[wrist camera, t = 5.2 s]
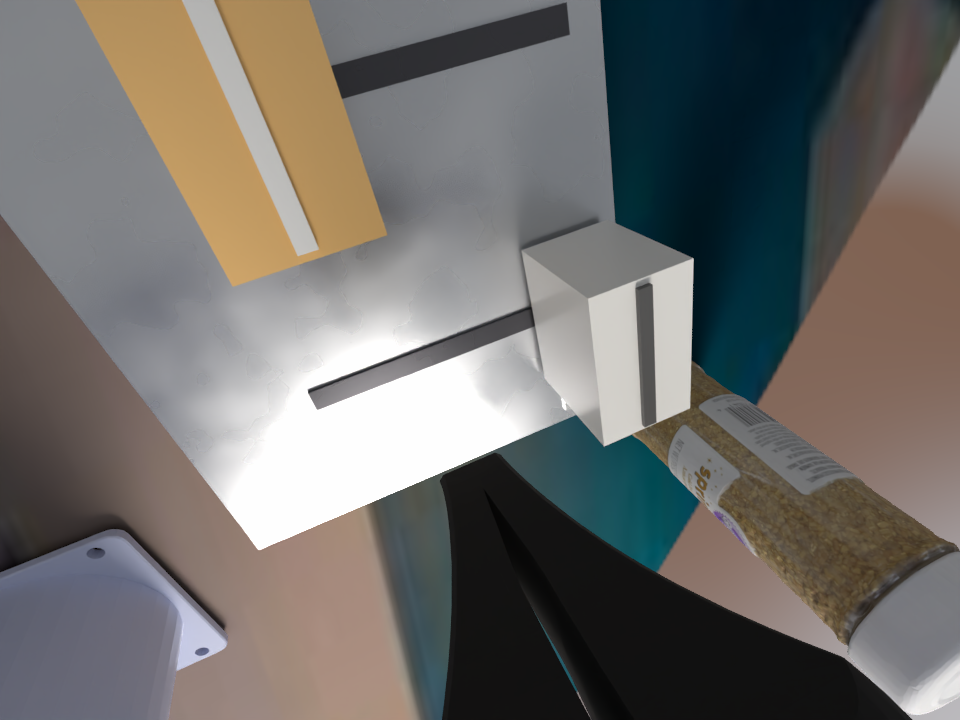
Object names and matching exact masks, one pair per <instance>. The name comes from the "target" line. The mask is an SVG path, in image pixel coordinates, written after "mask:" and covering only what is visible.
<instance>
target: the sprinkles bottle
mask: <svg viewBox="0 0 960 720" xmlns="http://www.w3.org/2000/svg"><path fill="white" fill-rule="evenodd" d="M632 435H633V436H634V437H636V438H638V439H640V440H641V441H642V442H643V443H645V444H646V446H647V447H648V448H649V449H650V450H651V451H652V452H653V453H655V454H656V455H657V456H658V458H659V459H660V460H662V461H663V462H664V463H665V464H666V465H667V466H668V467H669V468H670V470H671V472H672V473H673V474H674V475H675V476H676V477H677V478H678V479H679V480H680V481H681V482H682V483H683V484H684V485H685V486H686V487H687V488H688V489H689V490H690V491H691V492H692V493H693V494H694V495H695V496H696V497H697V498H698V499H699V500H700V501H701V502H702V503H703V504H704V505H705V506H706V507H707V508H708V509H709V510H710V511H711V512H712V513H713V514H714V515H715V516H716V517H717V518H718V519H719V520H720V521H721V522H722V523H723V524H724V525H725V526H726V527H727V528H728V529H729V530H730V531H731V532H732V533H733V534H734V535H735V536H736V537H737V538H738V539H739V540H740V541H741V542H742V543H743V544H744V545H745V546H746V547H747V548H748V549H749V550H750V551H751V552H752V553H753V554H754V555H755V556H757V557H759V558H760V559H761V560H762V561H763V562H764V563H766V564H767V566H768V567H769V568H770V569H771V570H772V571H773V572H775V574H776V575H778V577H779V578H780V579H781V580H782V581H783V582H784V583H785V584H786V585H787V586H788V587H789V588H790V589H791V590H792V591H793V592H795V594H796V595H798V596H799V597H800V598H801V599H802V601H803V602H804V603H805V604H807V605H808V606H809V607H810V608H811V609H812V610H813V611H814V612H815V614H816V615H817V616H818V617H819V618H820V619H821V620H822V621H823V622H824V623H825V624H826V625H828V626H829V627H830V628H831V629H832V630H833V631H834V633H835V634H836V635H837V639H838V640H839V641H841V642H842V643H843V644H845V645H848V651H847V652H848V654H849V656H850V658H851V659H852V660H853V661H854V662H855V663H856V664H857V666H858V667H859V668H860V669H861V670H862V671H863V672H864V673H865V674H866V675H867V676H868V677H869V678H870V679H871V680H872V681H873V682H874V683H875V684H876V685H877V686H878V687H879V688H880V689H881V690H883V691H884V692H885V693H886V694H887V695H888V696H889V697H890V698H891V699H892V700H893V701H894V702H895V703H896V704H897V705H898V706H899V707H900V708H901V709H902V710H904V711H905V712H907V713H910V714H914V715H920V714H926V713H929V712H932V711H934V710H936V709H938V708H940V707H942V706H944V705H946V704H948V703H950V702H951V701H953V700H955V699H957V698H959V697H960V551H959V549H958V547H957V546H956V545H955V544H954V543H951V542H948V541H946V540H944V539H942V538H939V537H938V536H936V535H935V534H934V533H933V532H932V531H930V530H929V529H928V528H926V527H925V526H923V525H922V524H920V523H919V522H918V521H916V520H915V519H913V518H912V517H910V516H909V515H907V514H906V513H904V512H903V511H902V510H900V509H899V508H897V507H896V506H894V505H892V504H891V503H890V502H889V501H888V500H886V499H885V498H883V497H881V496H880V495H878V494H877V493H876V492H874V491H873V490H872V489H871V488H869V487H867V486H866V485H865V484H864V482H863V481H862V480H861V479H859V478H858V477H857V476H856V475H854V474H853V473H851V472H850V471H848V470H847V469H845V468H844V467H843V466H841V465H840V464H838V463H836V462H835V461H834V460H832V459H831V458H829V457H828V456H826V455H825V454H824V453H822V452H821V451H819V450H818V449H816V448H815V447H814V446H812V445H811V444H809V443H808V442H806V441H805V440H804V439H802V438H801V437H799V436H797V435H796V434H795V433H793V432H792V431H790V430H789V429H788V428H786V427H785V426H783V425H782V424H780V423H779V422H778V421H776V420H775V419H773V418H772V417H770V416H769V415H768V414H766V413H765V412H763V411H762V410H760V409H759V408H758V407H756V406H755V405H753V404H752V403H750V402H749V401H747V400H746V399H744V398H743V397H741V396H738V395H735V394H733V393H732V392H730V391H729V390H728V389H726V388H725V387H723V386H722V385H720V384H719V383H718V382H717V381H715V380H714V379H713V378H711V377H709V376H707V375H706V374H705V372H704V371H703V370H702V368H701V367H700V366H699V365H697V364H696V363H695V362H693V361H691V392H690V409H687V410H685V411H683V412H681V413H678V414H676V415H674V416H672V417H669V418H667V419H665V420H663V421H660V422H658V423H656V424H654V425H651V426H649V427H647V428H645V429H642V430H640V431H638V432H635V433H633V434H632Z"/></svg>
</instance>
